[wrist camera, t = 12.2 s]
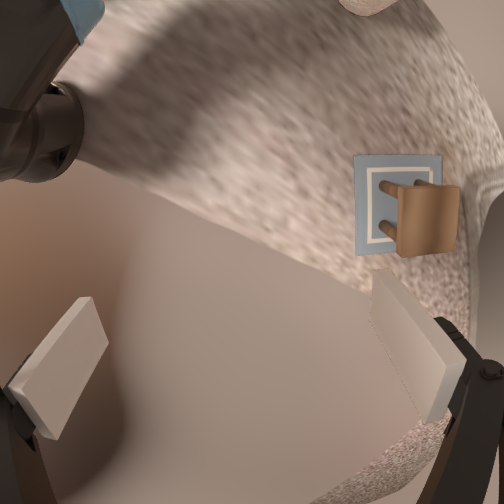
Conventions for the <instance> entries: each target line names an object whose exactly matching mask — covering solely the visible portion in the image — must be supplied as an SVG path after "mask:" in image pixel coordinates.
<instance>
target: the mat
mask: <svg viewBox="0 0 504 504" xmlns="http://www.w3.org/2000/svg"><path fill="white" fill-rule="evenodd" d="M353 156H354V178H355V255H356V256H360V255H369V254H379V253H388V252H396V242H394V241H393V240H392V239H391V238H390V237H388V236H387V235H386V234H385V233H383V232H382V231H381V230H380V229H379V223H380V221H382V220H386V221H388V222H389V223H391V224H392V225H393V226H395V227H396V228H397V219H398V199H396V198H394V197H392V196H390V195H388V194H386V193H384V192H382V191H381V190H380V189H379V183H380V182H381V181H382V180H386V181H388V182H391V183H393V184H396V185H398V186H414V182H415V180H417V179H420V180H423V181H426V182H429V183H432V184H435V185H442V156H441V155H353Z"/></svg>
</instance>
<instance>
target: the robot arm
mask: <svg viewBox="0 0 504 504" xmlns="http://www.w3.org/2000/svg"><path fill="white" fill-rule="evenodd" d="M104 11H105V4H104V1H103V0H0V182H3V181H6V180H9V179H16V180H20V181H24V182H29V183H41V182H45V181H48V180H51V179H54V178H56V177H58V176H59V175H61V174H62V173H63V172H65V170H67V169H68V167H69V166H70V165H71V164H72V162H73V161H74V159H75V157H76V155H77V153H78V151H79V148H80V145H81V142H82V138H83V130H84V118H83V112H82V107H81V104H80V102H79V100H78V98H77V96H76V95H75V93H74V92H73V91H72V90H71V89H70V88H69V87H67V86H66V85H64V84H62V83H58V82H53V79H54V78H55V77H56V75H57V74H58V73H59V71H60V70H61V69H62V67H63V66H64V65H65V63H66V62H67V61H68V59H69V58H70V57H71V56H72V54H73V53H74V52H75V51H76V50H77V48H78V47H79V46H82V45H83V43H84V39H85V38H86V37H87V36H88V34H89V33H90V32H91V31H92V29H93V28H94V27H95V26H96V25H97V23H98V22H99V21H100V20H101V18H102V17H103V15H104ZM369 322H370V323H371V325H372V327H373V328H374V330H375V332H376V334H377V336H378V338H379V339H380V341H381V343H382V345H383V347H384V348H385V350H386V352H387V354H388V356H389V357H390V359H391V361H392V363H393V365H394V367H395V368H396V370H397V372H398V374H399V376H400V378H401V380H402V382H403V383H404V385H405V388H406V389H407V391H408V393H409V395H410V397H411V399H412V401H413V403H414V405H415V407H416V409H417V411H418V413H419V415H420V417H421V419H422V421H423V423H424V425H425V424H428V423H431V422H434V421H437V420H440V419H443V417H444V415H445V413H446V410H447V408H449V410H450V412H451V413H452V417H451V419H450V421H449V423H448V425H447V427H446V429H445V431H444V433H443V434H445V436H444V439H443V442H442V445H441V447H440V450H439V453H438V455H437V458H436V460H435V463H434V466H433V468H432V470H431V473H430V475H429V477H428V480H427V482H426V484H425V487H424V488H423V491H422V493H421V495H420V497H419V499H418V501H417V503H416V504H483V501H484V498H485V495H486V491H487V488H488V484H489V481H490V477H491V473H492V469H493V465H494V461H495V457H496V452H497V447H498V446H499V502H498V504H504V367H503V366H502V365H501V364H500V363H498V362H496V361H494V360H489V359H484V360H483V359H482V358H481V356H480V355H479V354H478V353H477V352H476V350H475V349H474V348H473V347H472V346H471V344H470V343H469V342H468V341H467V340H466V339H465V338H464V336H463V335H462V334H461V333H460V332H458V329H457V328H456V327H455V326H454V325H453V324H452V322H450V321H448V320H446V319H445V318H443V317H436V318H433V317H432V316H431V315H430V314H429V313H428V312H427V310H426V309H425V308H424V307H423V306H422V305H421V303H420V302H419V301H418V300H417V299H416V298H415V297H414V295H413V294H412V293H411V292H410V291H409V290H408V289H407V288H406V286H405V285H404V284H403V283H402V282H401V281H400V280H399V279H398V278H397V277H396V275H395V274H394V273H393V272H392V271H391V270H390V269H389V268H385V269H377V270H373V284H372V298H371V310H370V321H369ZM108 343H109V342H108V340H107V338H106V335H105V332H104V329H103V327H102V324H101V321H100V319H99V316H98V313H97V311H96V308H95V305H94V302H93V299H92V297H79V298H78V299H77V301H76V302H75V303H74V304H73V305H72V306H71V308H70V309H69V310H68V311H67V312H66V313H65V315H64V316H63V317H62V318H61V319H60V320H59V322H58V323H57V324H56V325H55V326H54V328H53V329H52V330H51V331H50V332H49V334H48V335H47V336H46V337H45V338H44V340H43V341H42V342H41V343H40V345H39V346H38V347H37V349H36V350H35V351H33V352H32V353H31V354H30V355H28V356H27V358H26V359H25V360H24V362H23V363H22V365H20V367H19V368H18V371H16V372H15V373H14V375H13V376H12V377H11V379H10V380H9V381H8V383H7V384H6V386H5V387H4V388H3V390H2V388H1V387H0V504H58V503H57V500H56V498H55V495H54V492H53V489H52V487H51V484H50V481H49V478H48V475H47V472H46V469H45V465H44V462H43V459H42V455H41V452H40V448H39V444H38V440H37V438H36V436H35V435H34V434H33V432H34V430H35V428H37V429H38V430H39V432H40V433H41V434H42V436H43V437H46V438H50V439H54V440H58V438H59V436H60V434H61V432H62V430H63V428H64V426H65V424H66V422H67V420H68V418H69V416H70V414H71V412H72V410H73V408H74V406H75V404H76V402H77V400H78V398H79V396H80V394H81V392H82V391H83V388H84V387H85V385H86V383H87V381H88V379H89V378H90V376H91V374H92V372H93V370H94V368H95V367H96V365H97V363H98V361H99V359H100V358H101V356H102V354H103V352H104V351H105V349H106V347H107V345H108Z"/></svg>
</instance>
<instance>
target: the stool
mask: <svg viewBox="0 0 504 504" xmlns="http://www.w3.org/2000/svg"><path fill="white" fill-rule="evenodd" d="M379 189H380V190H381V191H382V192H384V193H386V194H388V195H390V196H392V197H394V198H396V199H398V219H397V228H396V227H395V226H393V225H392V224H391V223H389V222H388V221H386V220H382V221H380V223H379V229H380V230H381V231H382V232H383V233H385V234H386V235H387V236H388V237H390V238H391V239H392V240H393V241H394V242H396V253H397V254H398V255H400V256H401V257H402V258H403V257H412V256H420V255H428V254H436V253H444V252H451V251H455V245H456V236H457V226H458V214H459V199H460V188H459V187H456V186H453V185H435V184H432V183H429V182H426V181H423V180H420V179H417V180H415V182H414V186H398V185H396V184H393V183H391V182H388V181H386V180H382V181H381V182H380V183H379Z"/></svg>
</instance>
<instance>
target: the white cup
mask: <svg viewBox="0 0 504 504" xmlns="http://www.w3.org/2000/svg"><path fill="white" fill-rule="evenodd" d="M396 1H398V0H339V2H340V3H341V4H342V5H343V6H344V7H345V8H346V9H347V10H348V11H350V12H352V13H354V14H356V15H360V16H371V15H374V14H377V13H378V12H379V11H381V10H383V9H385V8H387V7H388V6H390V5H392V4H393V3H395V2H396Z"/></svg>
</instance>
